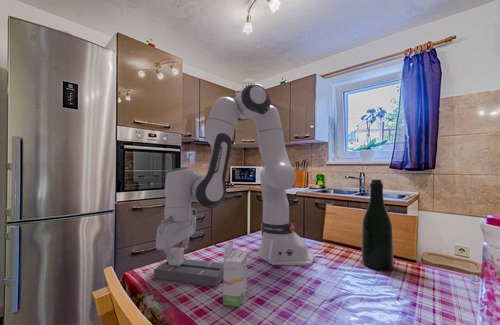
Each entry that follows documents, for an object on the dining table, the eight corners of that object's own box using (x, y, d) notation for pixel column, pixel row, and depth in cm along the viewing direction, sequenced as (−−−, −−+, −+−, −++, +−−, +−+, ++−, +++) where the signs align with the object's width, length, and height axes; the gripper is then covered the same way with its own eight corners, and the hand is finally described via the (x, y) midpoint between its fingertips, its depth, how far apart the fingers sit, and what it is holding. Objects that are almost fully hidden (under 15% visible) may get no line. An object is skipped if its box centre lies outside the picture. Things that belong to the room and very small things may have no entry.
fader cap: (183, 266, 77) (184, 248, 77) (179, 270, 74) (179, 251, 74) (173, 265, 78) (173, 247, 78) (168, 269, 75) (168, 250, 75)
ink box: (240, 308, 57) (241, 250, 58) (222, 305, 58) (223, 249, 59) (247, 290, 66) (248, 240, 66) (231, 288, 67) (232, 239, 67)
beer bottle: (384, 260, 89) (383, 179, 90) (399, 272, 78) (398, 180, 80) (357, 259, 90) (357, 178, 91) (368, 270, 79) (368, 179, 81)
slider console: (227, 272, 77) (227, 263, 77) (217, 287, 67) (217, 276, 67) (171, 265, 82) (171, 257, 82) (154, 278, 72) (154, 269, 72)
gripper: (169, 221, 66) (168, 268, 65) (198, 209, 86) (198, 245, 85) (150, 220, 67) (150, 266, 66) (184, 208, 87) (183, 243, 87)
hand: (177, 254), depth 76 cm, fingers open, 8 cm apart
